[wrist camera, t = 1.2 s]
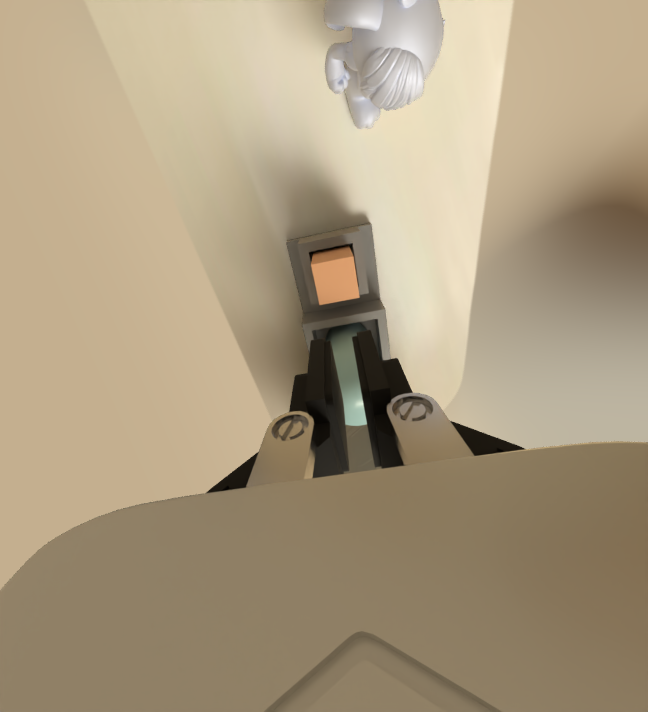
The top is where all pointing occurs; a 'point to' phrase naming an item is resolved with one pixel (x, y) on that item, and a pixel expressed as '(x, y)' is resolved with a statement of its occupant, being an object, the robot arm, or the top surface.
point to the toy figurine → (382, 53)
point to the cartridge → (348, 371)
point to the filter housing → (348, 311)
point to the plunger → (335, 275)
